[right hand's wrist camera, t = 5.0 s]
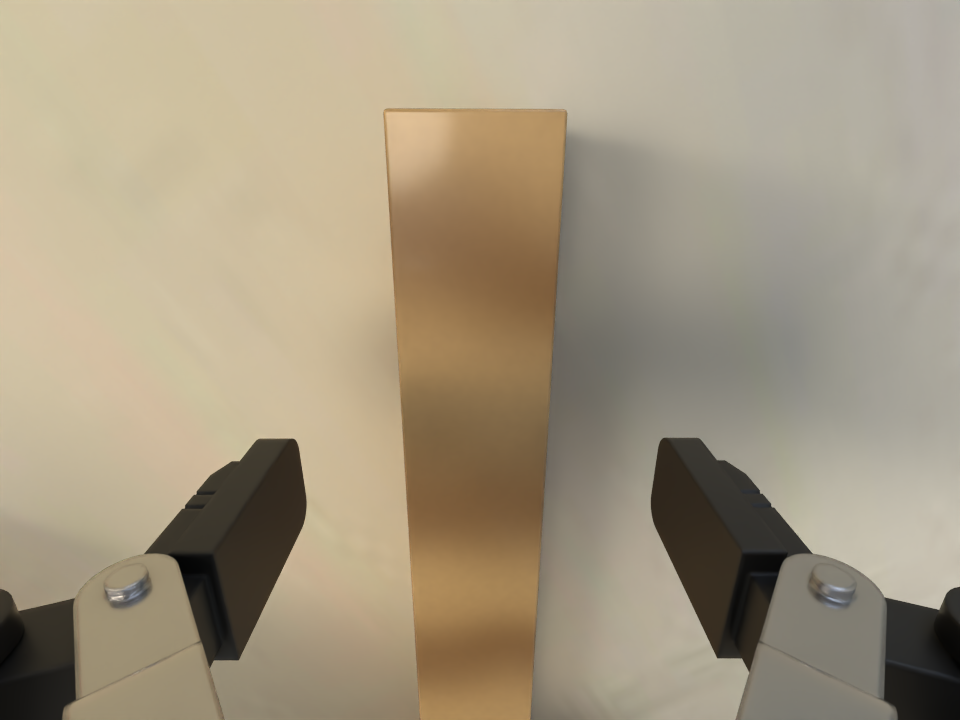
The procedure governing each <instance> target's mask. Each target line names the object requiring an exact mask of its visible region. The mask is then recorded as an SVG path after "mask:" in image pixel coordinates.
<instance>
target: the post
mask: <svg viewBox="0 0 960 720" xmlns="http://www.w3.org/2000/svg"><path fill="white" fill-rule="evenodd" d="M566 127H567V111H566V110H564V109H385V110H384V130H385V146H386V163H387V180H388V196H389V213H390V229H391V246H392V262H393V279H394V296H395V312H396V329H397V345H398V362H399V378H400V395H401V411H402V428H403V445H404V461H405V478H406V494H407V511H408V527H409V544H410V561H411V577H412V594H413V610H414V627H415V643H416V660H417V676H418V693H419V710H420V720H530V718H531V702H532V685H533V669H534V653H535V636H536V620H537V603H538V587H539V570H540V554H541V538H542V521H543V505H544V488H545V472H546V455H547V439H548V423H549V406H550V390H551V373H552V357H553V340H554V324H555V308H556V291H557V275H558V258H559V242H560V225H561V209H562V193H563V176H564V160H565V143H566Z"/></svg>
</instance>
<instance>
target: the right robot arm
mask: <svg viewBox="0 0 960 720" xmlns="http://www.w3.org/2000/svg"><path fill="white" fill-rule="evenodd" d="M651 512H652V518H653V522H654V525H655V527H656V529H657V531H658V534H659V536H660V538H661V540H662V542H663V544H664V546H665V548H666V551H667V553H668V555H669V557H670V559H671V561H672V563H673V565H674V567H675V570H676V572H677V574H678V576H679V578H680V580H681V582H682V584H683V586H684V589H685V591H686V593H687V595H688V597H689V599H690V601H691V603H692V606H693V608H694V610H695V612H696V614H697V616H698V618H699V620H700V622H701V625H702V627H703V629H704V631H705V633H706V635H707V637H708V639H709V641H710V644H711V646H712V648H713V650H714V652H715V654H716V656H717V658H742V659H743V661H744V663H745V665H746V667H747V669H748V671H749V676H748V679H747V682H746V686H745V689H744V693H743V696H742V699H741V703H740V706H739V710H738V713H737V716H736V720H960V587H957V588H953V589H951V590H950V591H949V592H948V593H947V594H946V596H945V598H944V601H943V603H942V605H941V608H940V610H937V609H933V608H928V607H924V606H919V605H915V604H911V603H906V602H902V601H898V600H893V599H889V598H885V597H884V596H883V594H882V592H881V591H880V589H879V588H878V587H877V586H876V585H875V584H874V583H873V582H872V581H871V580H870V579H869V578H868V577H866V576H865V575H864V574H862V573H861V572H859V571H858V570H856V569H854V568H853V567H851V566H849V565H847V564H845V563H843V562H840V561H838V560H836V559H833V558H829V557H826V556H822V555H817V554H812V552H811V551H810V550H809V549H808V548H807V546H806V545H805V544H804V543H803V542H802V540H801V539H800V538H799V537H798V536H797V534H796V533H795V532H794V531H793V530H792V529H791V527H790V526H789V525H788V524H787V523H786V521H785V520H784V519H783V518H782V517H781V515H780V514H779V513H778V512H777V511H776V509H775V508H772V507H771V503H770V502H769V501H768V500H767V499H766V497H765V496H764V495H763V494H760V490H759V489H758V488H757V487H756V485H755V484H754V483H753V482H752V481H751V479H750V478H749V477H748V476H747V475H746V474H745V473H743V472H742V471H740V470H739V469H737V468H736V467H734V466H733V465H731V464H730V463H728V462H727V461H725V460H716V459H715V457H714V456H713V455H712V453H711V452H710V451H709V450H708V448H707V447H706V446H705V444H704V443H703V442H702V441H701V440H700V439H699V438H663V439H662V440H661V441H660V444H659V447H658V454H657V461H656V467H655V474H654V481H653V488H652V494H651ZM305 515H306V493H305V486H304V479H303V473H302V466H301V459H300V453H299V447H298V444H297V442H296V440H295V439H258V440H256V442H255V443H254V444H253V445H252V447H251V448H250V449H249V450H248V452H247V453H246V454H245V455H244V457H243V458H242V459H241V460H240V461H232V462H230V463H229V464H227V465H226V466H224V467H223V468H221V469H220V470H218V471H216V472H215V473H213V474H212V475H210V477H209V478H208V479H207V480H206V481H205V482H204V484H203V485H202V486H201V487H200V488H199V490H198V491H197V494H196V495H194V496H193V497H192V498H191V499H190V500H189V501H188V503H187V504H186V505H185V509H182V510H181V511H180V512H179V513H178V514H177V516H176V517H175V518H174V519H173V520H172V522H171V523H170V524H169V525H168V526H167V528H166V529H165V530H164V531H163V532H162V533H161V535H160V536H159V537H158V538H157V539H156V541H155V542H154V543H153V544H152V545H151V546H150V548H149V549H148V550H147V551H146V552H145V554H143V555H138V556H134V557H131V558H127V559H124V560H122V561H120V562H117V563H115V564H113V565H111V566H109V567H107V568H106V569H104V570H102V571H101V572H99V573H98V574H96V575H95V576H94V577H92V578H91V579H90V580H89V581H88V582H87V583H86V584H85V585H84V586H83V587H82V588H81V589H80V591H79V592H78V594H77V596H76V598H74V599H70V600H66V601H62V602H57V603H53V604H49V605H44V606H40V607H36V608H31V609H27V610H22V611H18V609H17V607H16V605H15V603H14V600H13V598H12V596H11V595H10V594H9V593H8V592H7V591H5V590H1V589H0V720H224V716H223V713H222V710H221V706H220V703H219V699H218V696H217V693H216V689H215V686H214V682H213V679H212V676H211V672H210V669H209V668H210V667H211V665H212V663H213V661H214V660H239V659H240V656H241V654H242V652H243V650H244V648H245V646H246V644H247V642H248V640H249V638H250V636H251V633H252V631H253V629H254V627H255V625H256V623H257V621H258V619H259V617H260V615H261V613H262V610H263V608H264V606H265V604H266V602H267V600H268V598H269V596H270V594H271V592H272V590H273V588H274V585H275V583H276V581H277V579H278V577H279V575H280V573H281V571H282V569H283V567H284V565H285V562H286V560H287V558H288V556H289V554H290V552H291V550H292V548H293V546H294V544H295V542H296V539H297V537H298V535H299V533H300V531H301V529H302V527H303V524H304V520H305Z"/></svg>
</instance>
